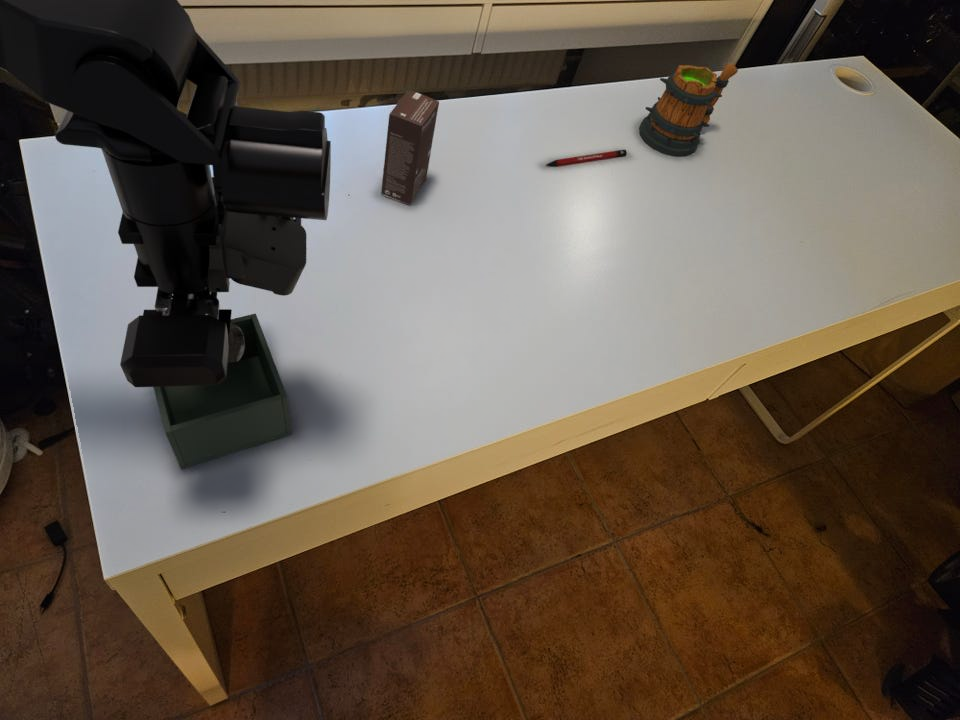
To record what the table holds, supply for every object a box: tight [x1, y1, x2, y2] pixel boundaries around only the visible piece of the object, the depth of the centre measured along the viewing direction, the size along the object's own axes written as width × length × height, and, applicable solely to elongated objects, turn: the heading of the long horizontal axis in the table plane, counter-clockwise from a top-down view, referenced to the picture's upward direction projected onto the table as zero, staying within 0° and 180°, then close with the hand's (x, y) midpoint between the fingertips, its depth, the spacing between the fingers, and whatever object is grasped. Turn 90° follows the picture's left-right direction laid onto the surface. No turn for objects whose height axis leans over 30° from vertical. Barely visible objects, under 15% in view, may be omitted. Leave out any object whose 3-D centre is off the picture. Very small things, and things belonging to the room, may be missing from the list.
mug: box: [638, 62, 739, 158], centre depth 100 cm, size 13×10×12 cm
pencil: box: [545, 149, 628, 167], centre depth 96 cm, size 1×14×1 cm, turn 115°
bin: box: [153, 313, 293, 470], centre depth 60 cm, size 10×10×7 cm
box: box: [380, 89, 440, 206], centre depth 81 cm, size 6×4×12 cm
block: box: [227, 323, 245, 363], centre depth 55 cm, size 4×6×2 cm, turn 115°
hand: (206, 342), depth 55 cm, fingers closed on block, 3 cm apart
